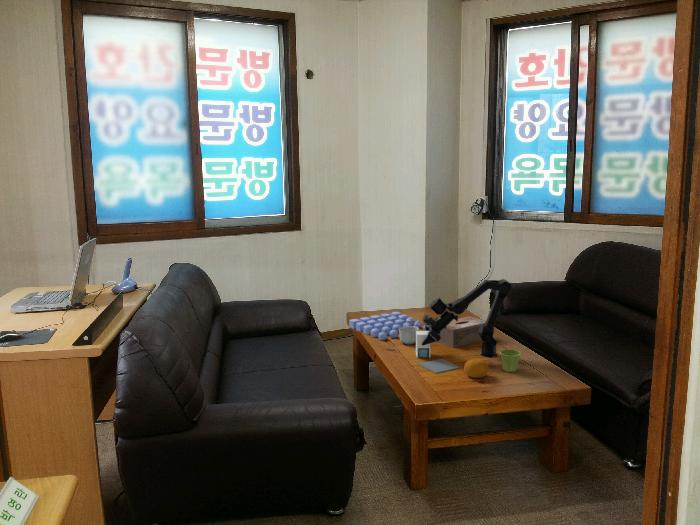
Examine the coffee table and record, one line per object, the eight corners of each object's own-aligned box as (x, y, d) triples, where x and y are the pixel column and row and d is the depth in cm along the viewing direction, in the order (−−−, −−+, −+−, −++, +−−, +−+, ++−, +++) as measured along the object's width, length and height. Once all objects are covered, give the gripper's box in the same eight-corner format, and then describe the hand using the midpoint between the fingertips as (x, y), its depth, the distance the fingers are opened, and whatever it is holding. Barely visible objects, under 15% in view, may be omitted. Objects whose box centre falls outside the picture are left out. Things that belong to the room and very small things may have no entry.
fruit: (468, 370, 274) (468, 354, 273) (490, 374, 269) (491, 357, 268) (460, 377, 265) (461, 361, 264) (483, 382, 260) (483, 364, 259)
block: (426, 354, 298) (426, 347, 298) (427, 357, 294) (427, 349, 294) (418, 354, 298) (418, 347, 298) (419, 357, 294) (419, 349, 294)
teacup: (418, 346, 311) (418, 331, 310) (397, 345, 313) (397, 330, 312) (420, 338, 325) (420, 324, 323) (400, 337, 327) (400, 323, 326)
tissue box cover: (453, 348, 308) (453, 329, 307) (435, 341, 320) (435, 323, 319) (488, 339, 322) (488, 322, 320) (469, 333, 334) (470, 316, 332)
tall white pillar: (428, 353, 299) (428, 330, 297) (430, 357, 293) (430, 334, 291) (415, 353, 300) (415, 330, 298) (416, 357, 293) (417, 334, 291)
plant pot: (516, 375, 268) (517, 356, 266) (496, 371, 273) (497, 353, 271) (522, 368, 276) (523, 351, 274) (502, 365, 281) (503, 348, 279)
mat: (442, 359, 290) (442, 358, 290) (459, 368, 278) (459, 367, 277) (418, 364, 283) (418, 363, 283) (435, 373, 271) (435, 372, 271)
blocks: (397, 319, 367) (397, 311, 367) (431, 332, 338) (431, 323, 337) (349, 327, 350) (349, 319, 349) (381, 342, 320) (381, 333, 320)
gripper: (430, 305, 301) (408, 326, 303) (434, 314, 283) (411, 336, 285) (445, 320, 302) (423, 340, 305) (450, 330, 284) (427, 352, 286)
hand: (421, 342), depth 295 cm, fingers open, 9 cm apart
